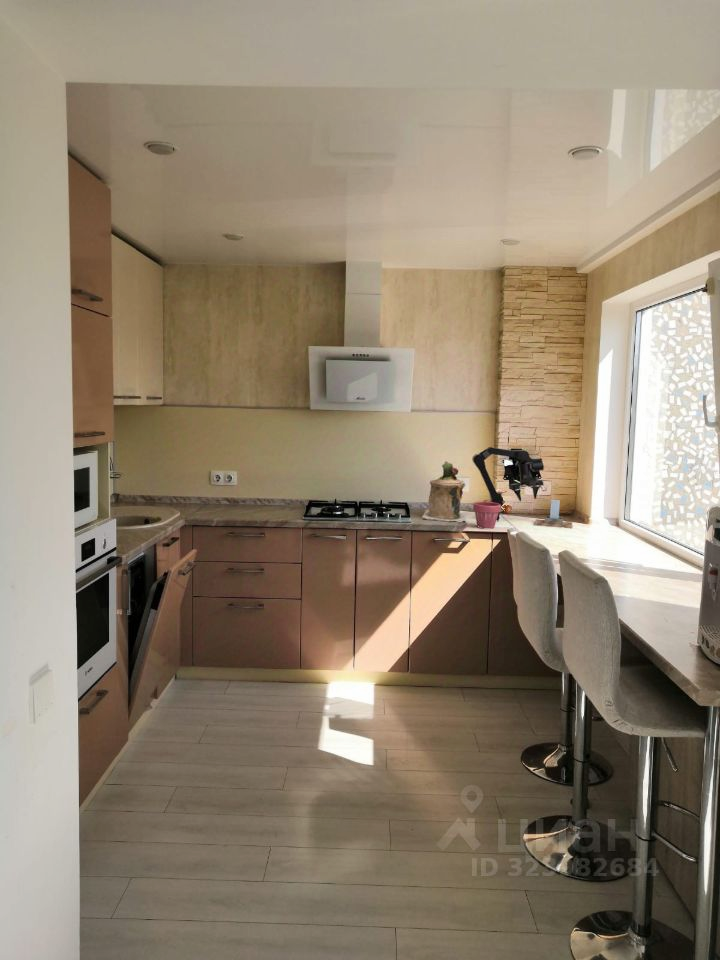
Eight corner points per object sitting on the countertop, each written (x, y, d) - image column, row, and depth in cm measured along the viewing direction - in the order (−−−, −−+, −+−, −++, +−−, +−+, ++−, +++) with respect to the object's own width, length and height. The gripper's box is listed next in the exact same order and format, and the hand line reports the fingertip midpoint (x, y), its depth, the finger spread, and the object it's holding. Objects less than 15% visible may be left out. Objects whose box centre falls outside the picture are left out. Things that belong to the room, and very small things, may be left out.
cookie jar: (421, 519, 412) (424, 462, 408) (425, 513, 436) (428, 458, 432) (466, 523, 408) (469, 465, 404) (467, 516, 432) (471, 461, 428)
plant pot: (481, 530, 389) (482, 506, 387) (467, 525, 401) (468, 501, 400) (504, 529, 394) (505, 505, 393) (489, 524, 407) (491, 501, 406)
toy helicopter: (513, 513, 449) (514, 490, 448) (487, 515, 438) (488, 492, 437) (503, 511, 456) (505, 489, 455) (477, 512, 445) (479, 490, 444)
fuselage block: (549, 523, 413) (551, 500, 412) (549, 521, 418) (551, 499, 416) (558, 523, 412) (559, 501, 411) (558, 522, 417) (559, 500, 415)
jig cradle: (534, 525, 411) (535, 517, 411) (535, 521, 424) (535, 514, 423) (572, 528, 407) (573, 520, 406) (571, 524, 419) (572, 517, 419)
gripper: (516, 475, 408) (519, 503, 410) (547, 470, 413) (549, 498, 414) (507, 474, 419) (510, 502, 420) (537, 469, 423) (540, 496, 425)
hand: (527, 499), depth 420 cm, fingers open, 9 cm apart
